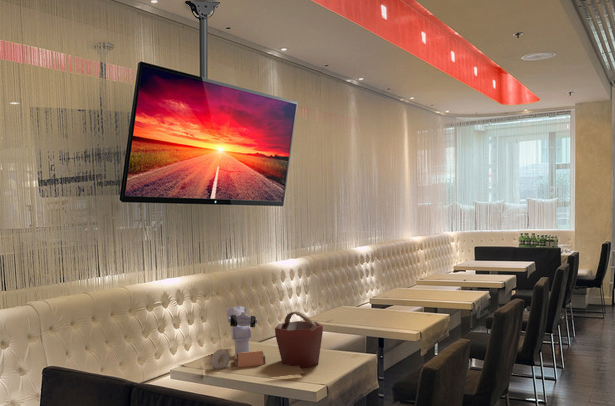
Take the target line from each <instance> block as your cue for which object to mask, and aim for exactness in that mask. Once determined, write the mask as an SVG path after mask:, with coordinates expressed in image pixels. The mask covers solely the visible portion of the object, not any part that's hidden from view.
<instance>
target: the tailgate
mask: <svg viewBox="0 0 615 406" xmlns="http://www.w3.org/2000/svg"><path fill="white" fill-rule="evenodd" d="M263 353H264V351H263V350H255V351H249V352H242V353H238V363H239V366H238V367H237V368H244V367H254V366H263V365H265V364H263Z"/></svg>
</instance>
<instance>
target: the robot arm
mask: <svg viewBox="0 0 615 406" xmlns="http://www.w3.org/2000/svg"><path fill="white" fill-rule="evenodd" d="M226 318H227V323H230V324H229V326H230V327H231V330H230V333H231V334H230V335H231V339H232V340H234V351H235V352H234V354H238V353H242V352H250V341H249V340H250V339H251V338H252V328H255V327H256V325H257V324H258V321H259V320H258V318H257V317H256V316H255V315H251V316H249V315H248V314H247V309H246V307H244V306H241V305H236V306H234V307H227V308H226Z"/></svg>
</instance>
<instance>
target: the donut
mask: <svg viewBox="0 0 615 406" xmlns="http://www.w3.org/2000/svg"><path fill="white" fill-rule="evenodd" d="M221 357H222V360H221V362H219V360H220V358H221ZM210 362H211V366H212V368H213V369H214V370H220V369H224V368H226V367H228V365H229V364H230V354H229V352H228V351H227V349H223V348H219V349H217V350H215V351H214V352H213V354H212V356H211V361H210Z"/></svg>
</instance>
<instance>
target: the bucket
mask: <svg viewBox="0 0 615 406" xmlns="http://www.w3.org/2000/svg"><path fill="white" fill-rule="evenodd" d="M293 315H297V316H299V317H300V318H301V319H303V320H296V321H291V319H292V316H293ZM323 327H324V326H323V324H321V322H320V323H319V322H318V321H314V320H311V318H310V317H309V316H307V315H306V314H304V313H303V312H300V311H291V312H289V313H288V314H287V315H285V318H284V322H282V323H279V324H278V325H277V326H275V328H274V334H275V338H276V343H277V348H278V352H279V355H280V360H281V363H282V364H283V365H287V366H291V367H299V369H301V370H302V369H303V370H304V369H310V368H312V367H315V366H317V365H319V361H320V354H321V347H322V340H323V333H324V330H323Z"/></svg>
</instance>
